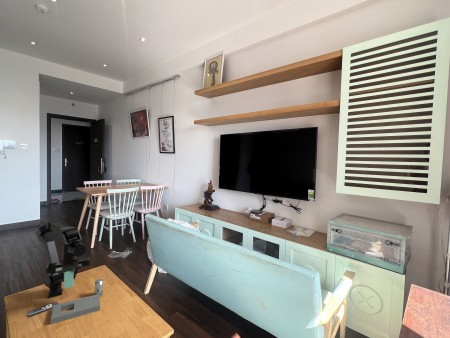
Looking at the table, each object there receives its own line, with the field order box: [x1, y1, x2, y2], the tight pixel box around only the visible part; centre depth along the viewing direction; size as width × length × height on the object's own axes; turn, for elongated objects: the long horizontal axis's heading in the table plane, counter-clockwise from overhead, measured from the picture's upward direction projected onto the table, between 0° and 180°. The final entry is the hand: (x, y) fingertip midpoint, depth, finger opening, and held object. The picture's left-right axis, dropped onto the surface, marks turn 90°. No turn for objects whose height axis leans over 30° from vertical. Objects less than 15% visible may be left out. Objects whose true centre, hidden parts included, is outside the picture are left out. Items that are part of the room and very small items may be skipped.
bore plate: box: [50, 294, 101, 325], centre depth 111 cm, size 11×20×2 cm, turn 122°
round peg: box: [94, 278, 104, 297], centre depth 124 cm, size 4×4×8 cm
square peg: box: [63, 269, 75, 289], centre depth 116 cm, size 4×4×8 cm
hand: (69, 280), depth 117 cm, fingers closed on square peg, 4 cm apart
